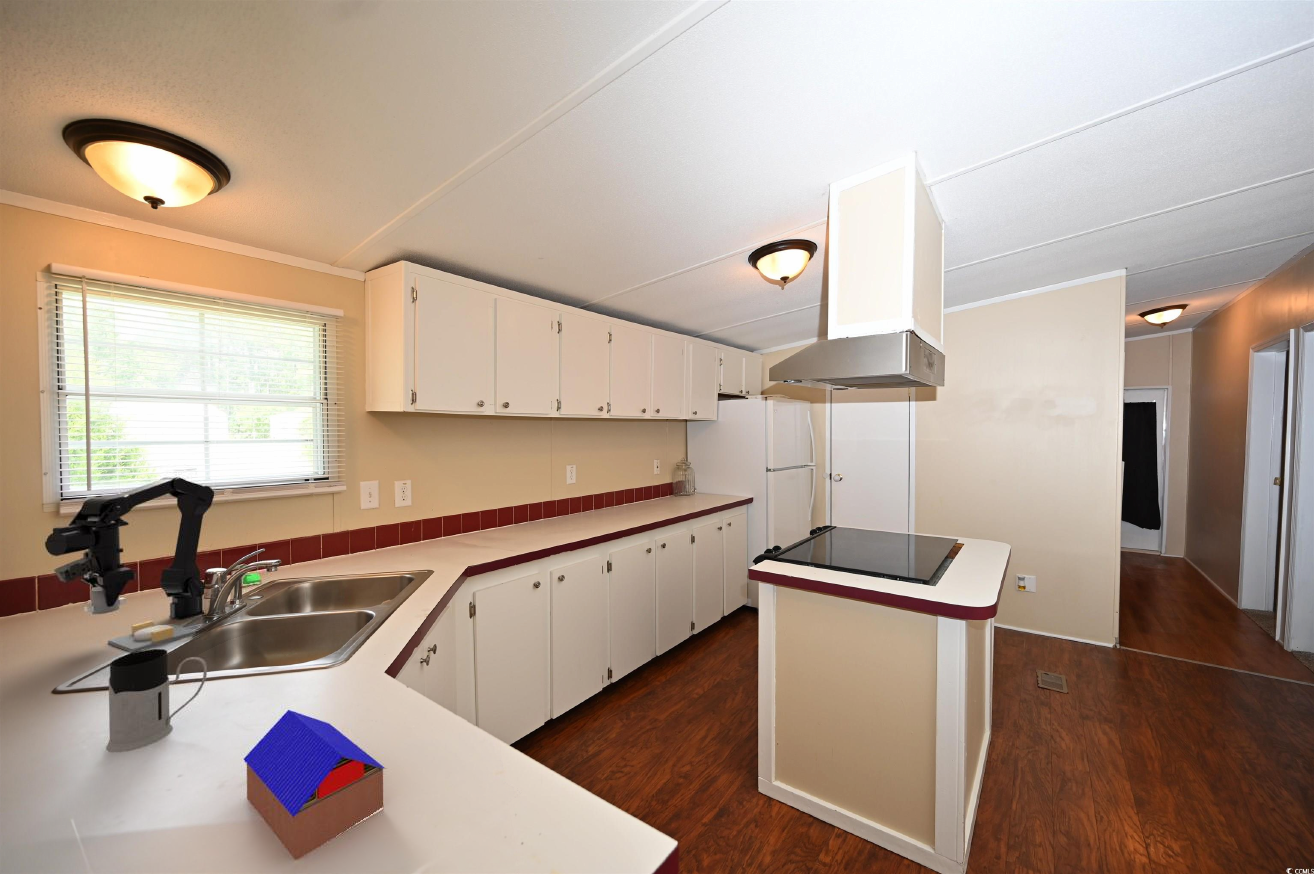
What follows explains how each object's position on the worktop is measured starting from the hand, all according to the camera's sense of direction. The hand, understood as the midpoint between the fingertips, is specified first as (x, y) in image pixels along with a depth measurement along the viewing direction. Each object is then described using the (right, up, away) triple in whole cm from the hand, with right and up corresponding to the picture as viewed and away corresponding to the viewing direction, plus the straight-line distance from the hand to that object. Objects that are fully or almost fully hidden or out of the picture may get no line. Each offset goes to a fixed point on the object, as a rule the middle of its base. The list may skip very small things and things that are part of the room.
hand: (105, 604), depth 136 cm
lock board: (+8, -11, +4) cm, 14 cm away
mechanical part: (-6, -10, +55) cm, 57 cm away
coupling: (0, -2, 0) cm, 2 cm away
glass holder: (+52, -12, -39) cm, 66 cm away
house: (+93, -12, -57) cm, 110 cm away
